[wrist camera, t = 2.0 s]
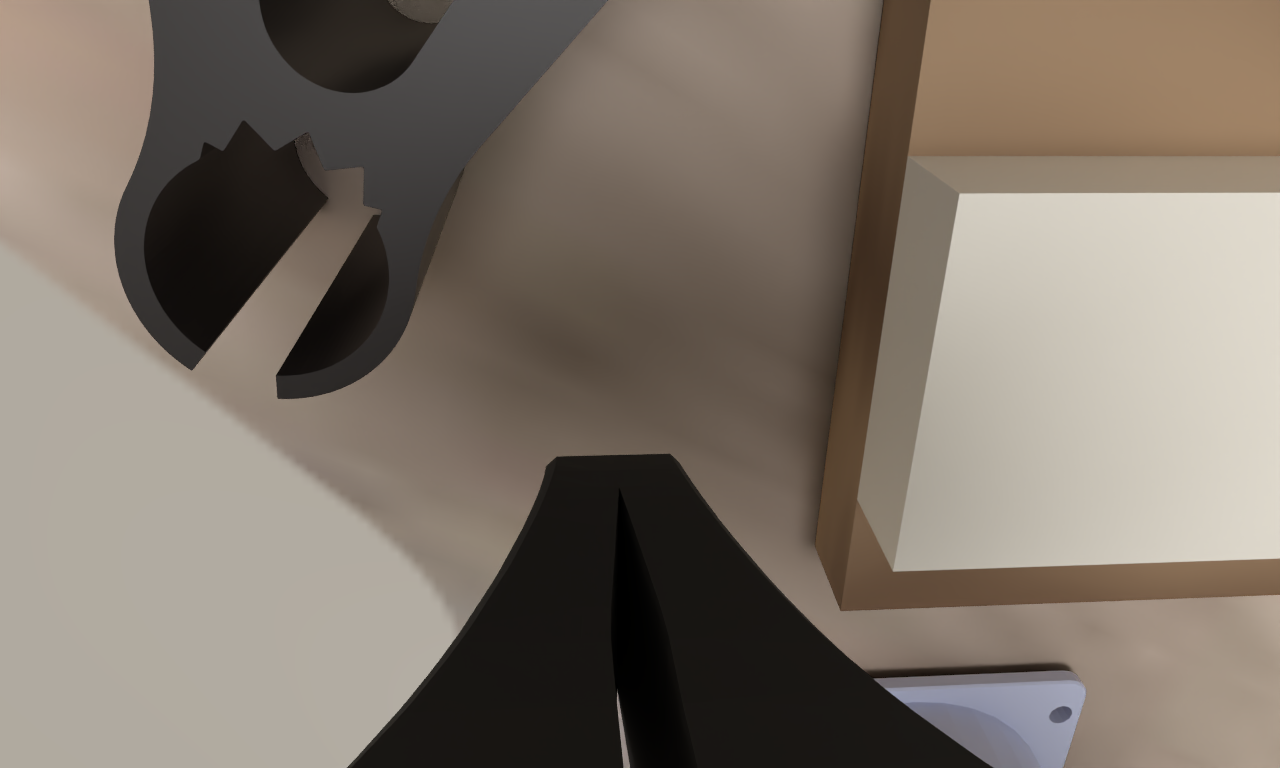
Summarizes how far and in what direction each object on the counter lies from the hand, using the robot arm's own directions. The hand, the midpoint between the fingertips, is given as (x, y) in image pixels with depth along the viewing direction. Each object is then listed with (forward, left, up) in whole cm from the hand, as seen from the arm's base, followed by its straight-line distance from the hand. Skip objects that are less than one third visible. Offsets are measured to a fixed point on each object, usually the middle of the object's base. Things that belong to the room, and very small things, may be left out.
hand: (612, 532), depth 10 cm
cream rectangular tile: (0, -9, -5) cm, 10 cm away
